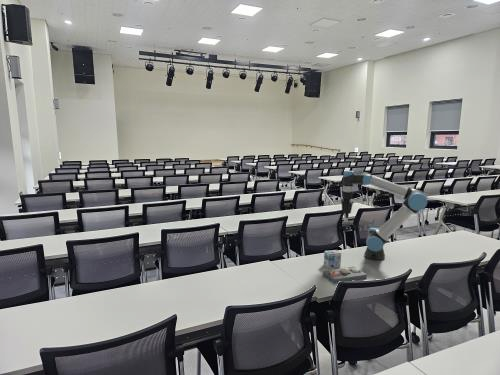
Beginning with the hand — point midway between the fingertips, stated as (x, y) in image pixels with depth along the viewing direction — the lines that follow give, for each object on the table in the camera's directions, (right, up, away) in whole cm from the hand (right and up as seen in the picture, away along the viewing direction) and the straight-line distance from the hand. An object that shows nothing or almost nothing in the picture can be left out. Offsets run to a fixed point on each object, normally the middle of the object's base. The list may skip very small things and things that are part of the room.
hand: (345, 221), depth 249 cm
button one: (-1, -33, -26) cm, 42 cm away
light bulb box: (-13, -32, -10) cm, 36 cm away
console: (-9, -34, -28) cm, 46 cm away
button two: (-9, -32, -29) cm, 44 cm away
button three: (-17, -34, -31) cm, 49 cm away
